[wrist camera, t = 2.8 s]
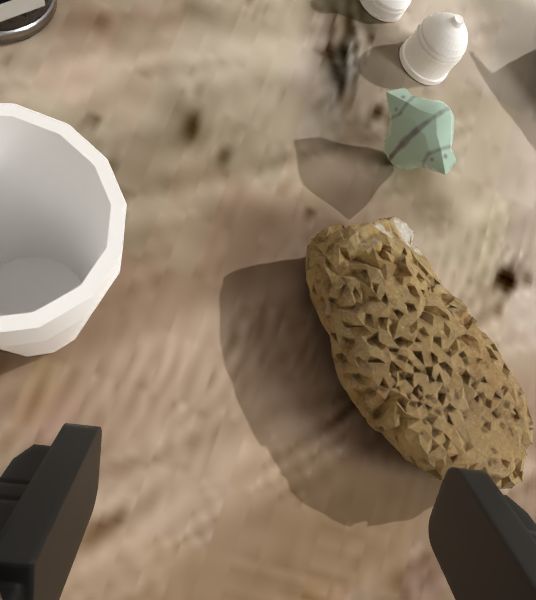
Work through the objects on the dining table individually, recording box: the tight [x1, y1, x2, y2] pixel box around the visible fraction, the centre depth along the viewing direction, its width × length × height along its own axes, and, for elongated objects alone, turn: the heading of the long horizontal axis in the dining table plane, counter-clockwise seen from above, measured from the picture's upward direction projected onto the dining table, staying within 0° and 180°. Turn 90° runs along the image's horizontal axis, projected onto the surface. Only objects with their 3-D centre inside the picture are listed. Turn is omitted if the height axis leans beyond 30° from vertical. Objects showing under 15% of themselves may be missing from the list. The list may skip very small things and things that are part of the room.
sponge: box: [305, 217, 533, 489], centre depth 34 cm, size 13×8×20 cm
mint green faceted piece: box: [385, 88, 456, 175], centre depth 40 cm, size 8×4×7 cm, turn 36°
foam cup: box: [0, 103, 127, 356], centre depth 24 cm, size 10×9×13 cm
